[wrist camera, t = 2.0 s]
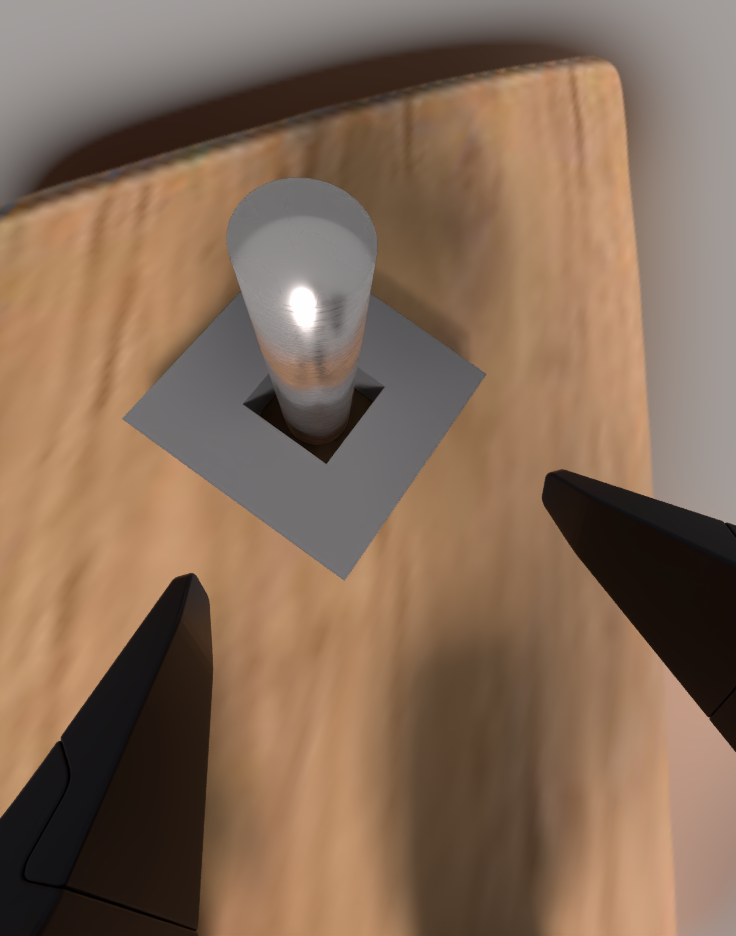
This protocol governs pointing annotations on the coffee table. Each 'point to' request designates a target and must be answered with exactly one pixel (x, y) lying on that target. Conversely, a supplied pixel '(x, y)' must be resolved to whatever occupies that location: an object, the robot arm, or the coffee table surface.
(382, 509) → the pocket block
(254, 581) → the coffee table surface
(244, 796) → the coffee table surface
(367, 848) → the coffee table surface
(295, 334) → the steel peg
